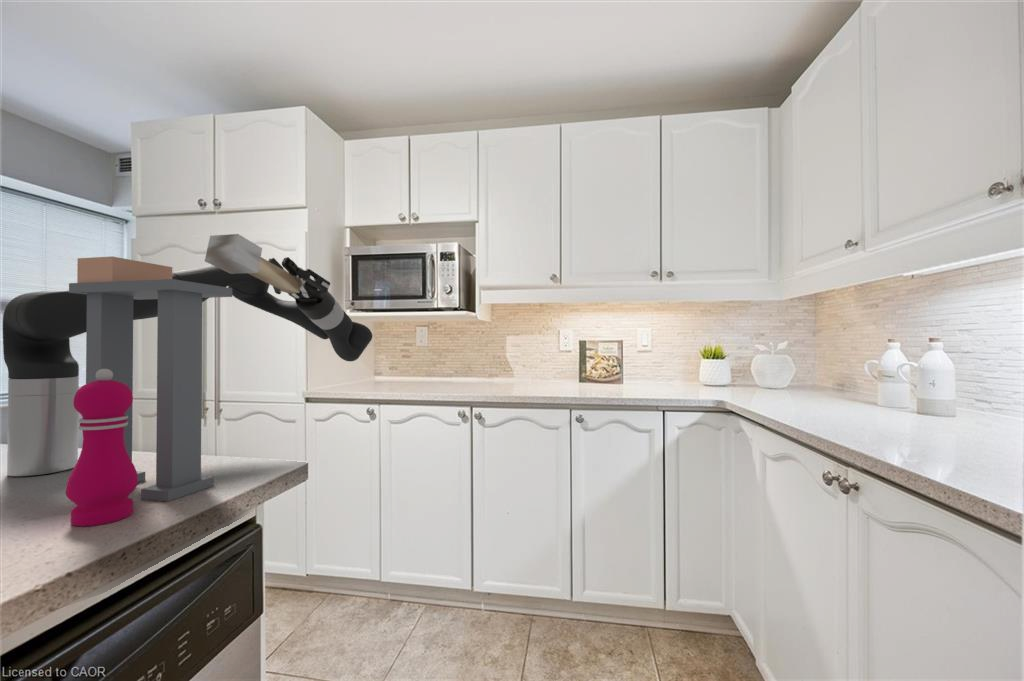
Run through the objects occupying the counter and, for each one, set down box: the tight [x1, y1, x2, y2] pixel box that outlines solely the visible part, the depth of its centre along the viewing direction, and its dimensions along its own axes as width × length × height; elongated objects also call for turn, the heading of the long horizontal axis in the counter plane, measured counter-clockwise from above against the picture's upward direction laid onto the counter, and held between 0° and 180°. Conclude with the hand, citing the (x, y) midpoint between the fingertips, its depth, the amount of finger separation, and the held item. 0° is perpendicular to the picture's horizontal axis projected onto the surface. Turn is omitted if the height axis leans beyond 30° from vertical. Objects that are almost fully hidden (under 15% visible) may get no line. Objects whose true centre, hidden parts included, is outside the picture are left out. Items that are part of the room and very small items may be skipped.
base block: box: [76, 255, 173, 283], centre depth 77 cm, size 7×10×4 cm
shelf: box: [68, 279, 233, 502], centre depth 76 cm, size 20×11×33 cm, turn 78°
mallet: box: [204, 233, 300, 294], centre depth 92 cm, size 6×20×5 cm, turn 168°
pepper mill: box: [65, 369, 139, 528], centre depth 62 cm, size 7×7×20 cm
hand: (277, 260), depth 96 cm, fingers closed on mallet, 3 cm apart
